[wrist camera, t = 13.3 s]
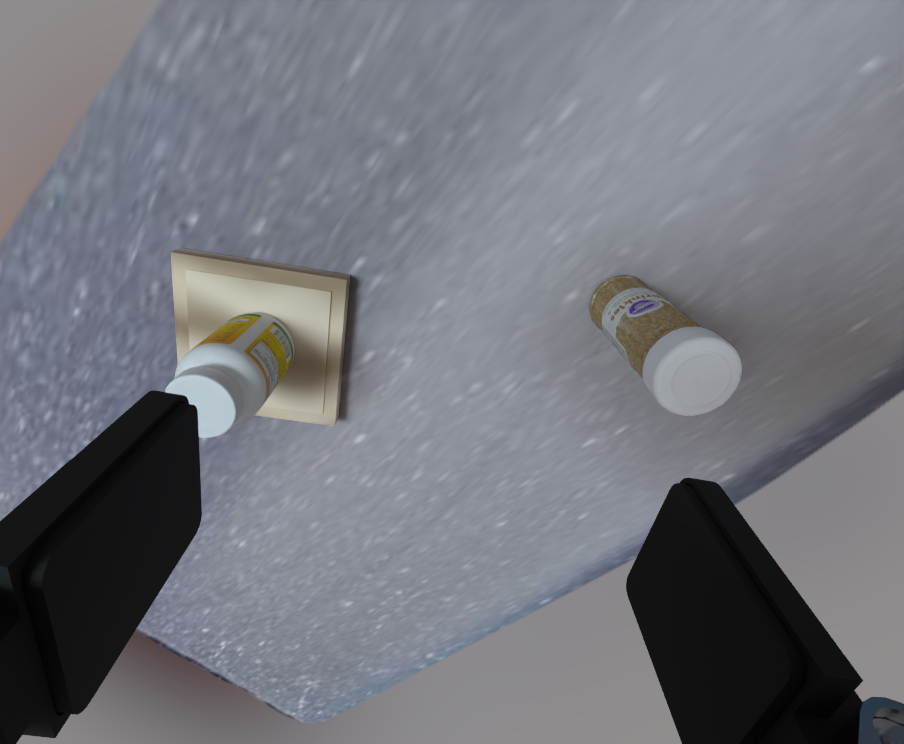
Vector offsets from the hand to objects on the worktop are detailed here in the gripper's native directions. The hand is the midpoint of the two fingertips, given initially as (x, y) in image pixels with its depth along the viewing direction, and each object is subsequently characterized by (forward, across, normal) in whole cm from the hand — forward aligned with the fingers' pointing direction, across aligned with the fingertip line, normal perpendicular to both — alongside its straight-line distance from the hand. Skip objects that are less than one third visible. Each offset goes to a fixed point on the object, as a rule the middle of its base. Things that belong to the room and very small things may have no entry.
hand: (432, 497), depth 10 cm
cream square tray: (+28, +12, +11) cm, 32 cm away
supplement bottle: (+26, +12, +10) cm, 31 cm away
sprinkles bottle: (+29, -14, +3) cm, 32 cm away
